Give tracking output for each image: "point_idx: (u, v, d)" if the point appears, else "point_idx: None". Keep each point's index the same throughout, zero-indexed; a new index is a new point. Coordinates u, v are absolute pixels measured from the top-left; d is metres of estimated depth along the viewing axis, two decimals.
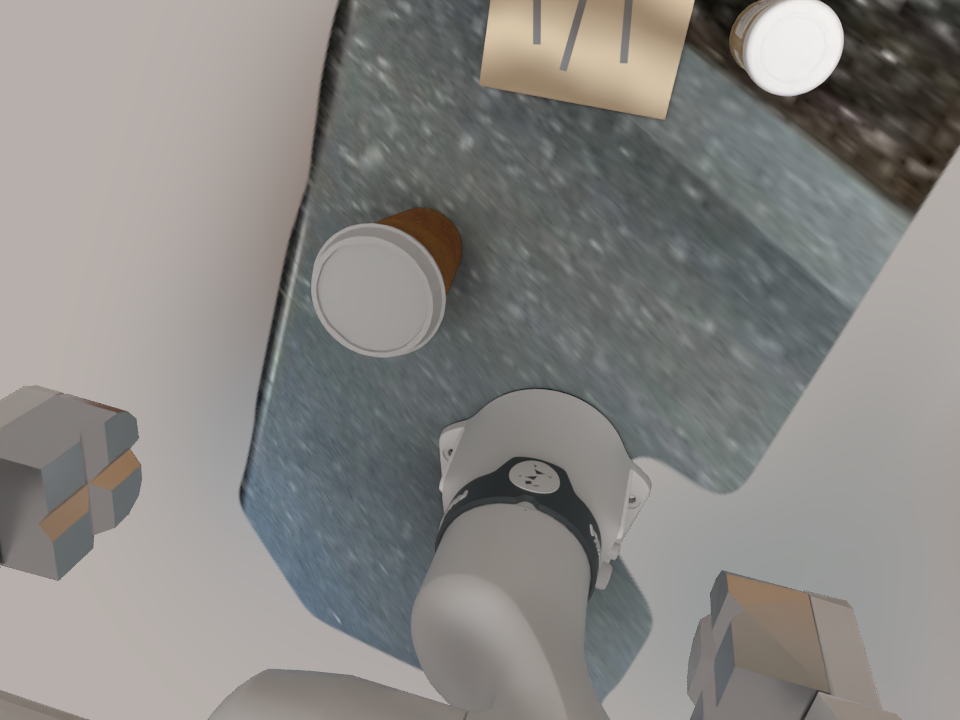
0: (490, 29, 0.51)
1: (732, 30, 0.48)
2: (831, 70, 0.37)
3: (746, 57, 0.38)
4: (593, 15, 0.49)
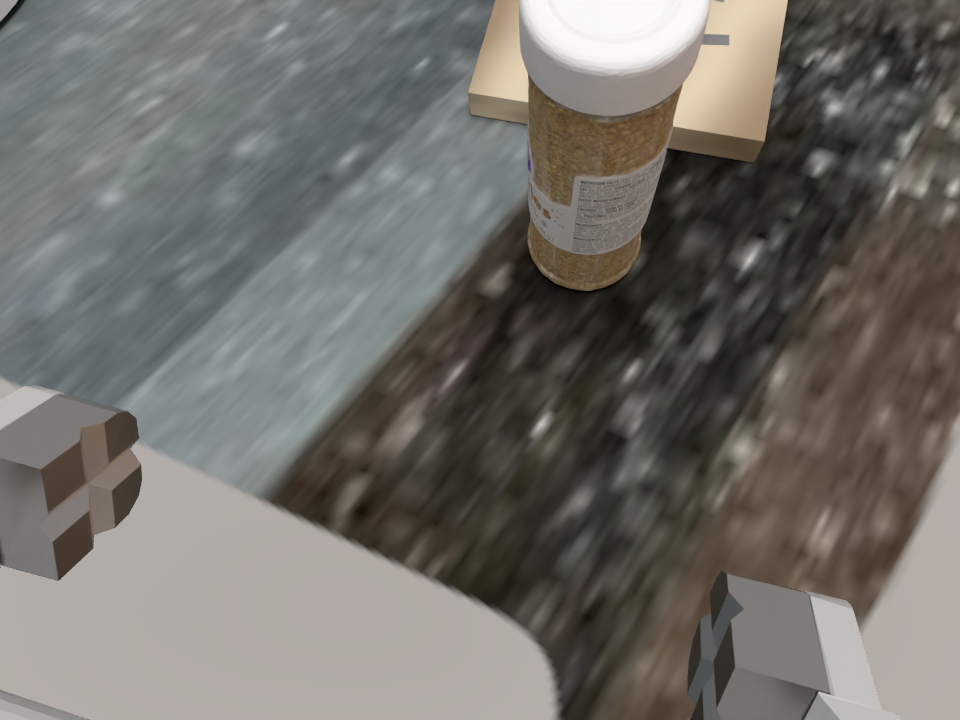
0: None
1: None
2: (567, 56, 0.17)
3: None
4: None
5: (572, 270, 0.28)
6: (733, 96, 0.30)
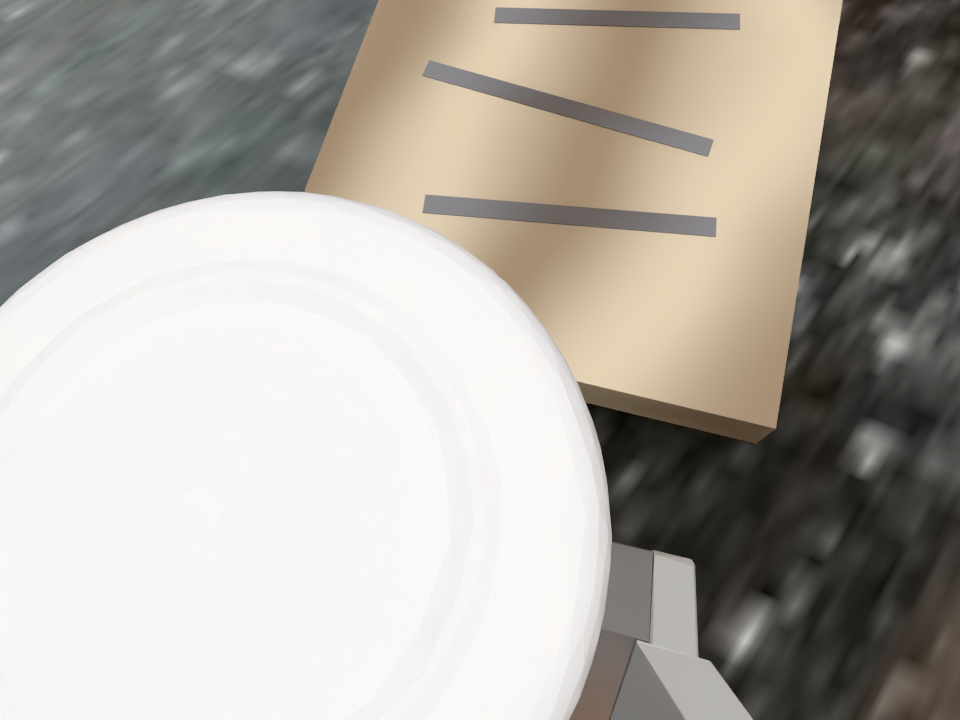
0: None
1: None
2: None
3: None
4: (549, 136, 0.19)
5: None
6: (721, 335, 0.17)
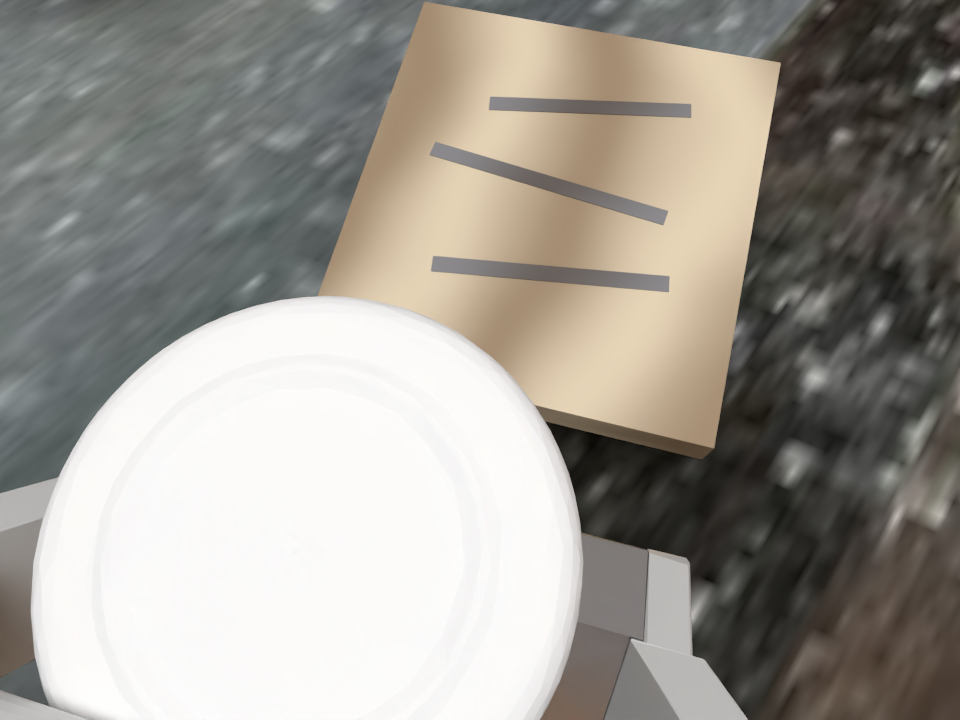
0: (526, 25, 0.25)
1: None
2: None
3: None
4: (534, 207, 0.23)
5: None
6: (672, 372, 0.21)
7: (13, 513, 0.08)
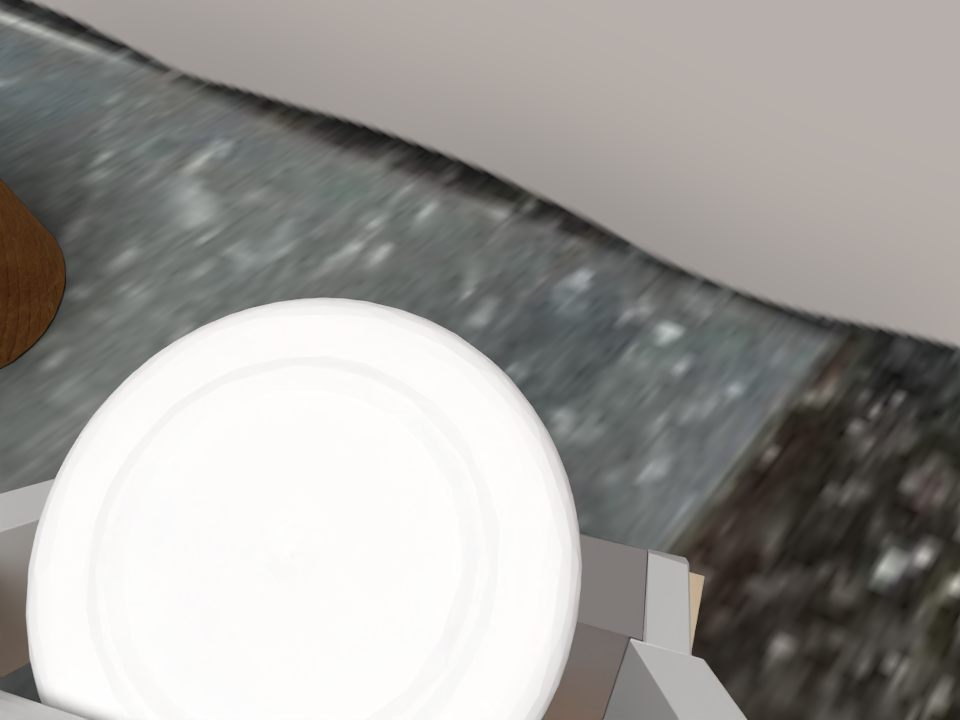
0: None
1: None
2: None
3: None
4: None
5: None
6: None
7: (14, 513, 0.08)
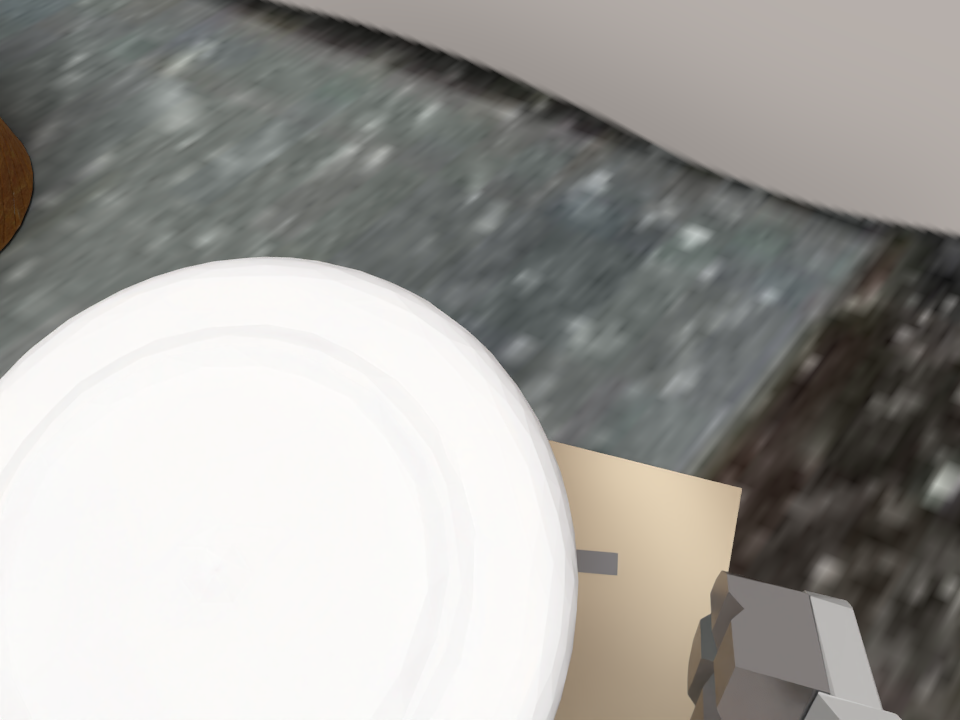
0: None
1: None
2: None
3: (229, 262, 0.06)
4: None
5: None
6: None
7: None
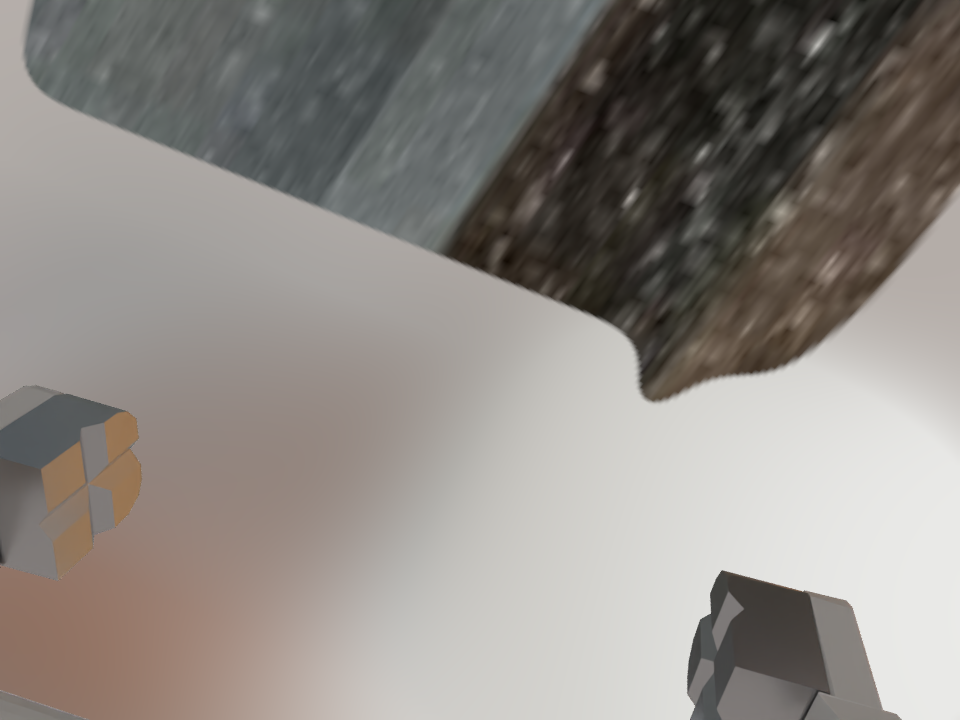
0: None
1: None
2: None
3: None
4: None
5: None
6: None
7: None
